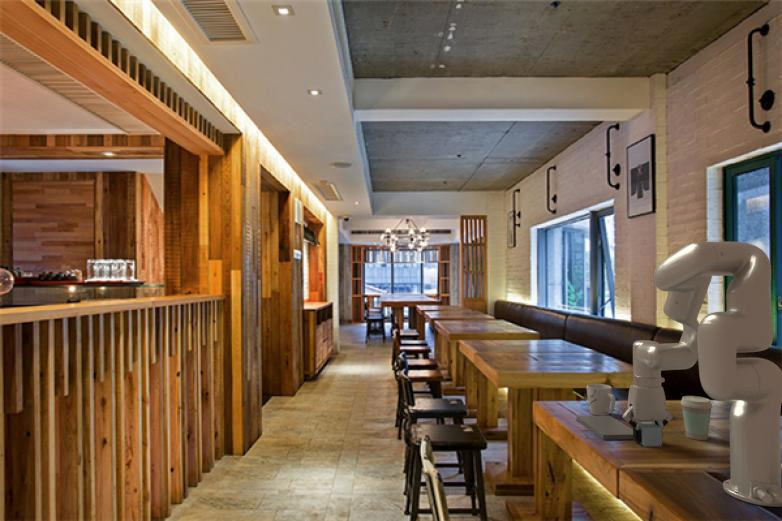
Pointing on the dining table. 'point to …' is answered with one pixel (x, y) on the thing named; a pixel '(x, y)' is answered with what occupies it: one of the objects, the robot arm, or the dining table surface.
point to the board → (606, 427)
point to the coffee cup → (696, 416)
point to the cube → (651, 434)
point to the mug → (600, 399)
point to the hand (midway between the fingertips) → (647, 441)
